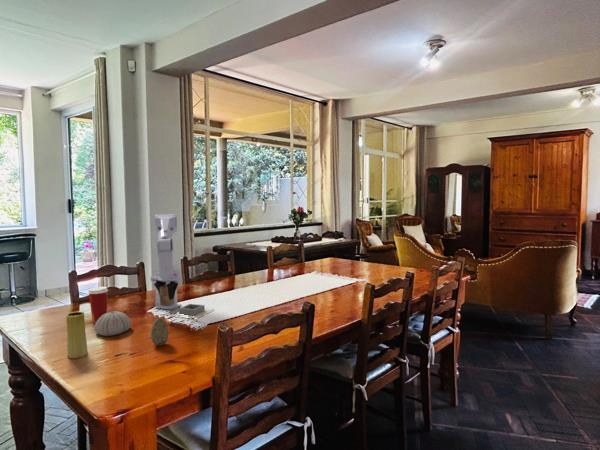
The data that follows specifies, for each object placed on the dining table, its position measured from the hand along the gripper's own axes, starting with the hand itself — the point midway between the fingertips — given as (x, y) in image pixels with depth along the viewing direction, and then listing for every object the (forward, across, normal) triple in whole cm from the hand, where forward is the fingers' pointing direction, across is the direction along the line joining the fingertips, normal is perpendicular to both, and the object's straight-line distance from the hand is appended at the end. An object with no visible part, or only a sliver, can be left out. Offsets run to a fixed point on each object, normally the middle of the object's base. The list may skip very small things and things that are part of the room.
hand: (167, 298), depth 173 cm
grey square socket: (+10, +4, +12) cm, 16 cm away
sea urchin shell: (+10, -12, -18) cm, 24 cm away
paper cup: (+10, -28, -9) cm, 31 cm away
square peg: (+2, 0, 0) cm, 3 cm away
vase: (+10, -6, -40) cm, 42 cm away
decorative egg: (+10, +15, -24) cm, 30 cm away
